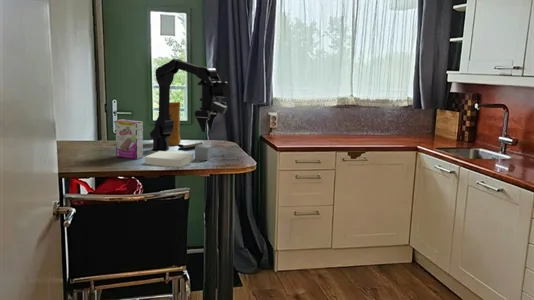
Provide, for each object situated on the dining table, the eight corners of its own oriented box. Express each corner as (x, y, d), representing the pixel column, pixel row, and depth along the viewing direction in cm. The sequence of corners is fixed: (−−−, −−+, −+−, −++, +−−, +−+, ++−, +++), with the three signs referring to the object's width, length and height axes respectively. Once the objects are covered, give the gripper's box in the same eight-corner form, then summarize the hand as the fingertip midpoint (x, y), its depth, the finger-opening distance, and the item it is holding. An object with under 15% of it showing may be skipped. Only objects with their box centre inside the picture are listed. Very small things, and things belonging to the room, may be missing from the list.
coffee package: (158, 141, 247) (158, 100, 243) (181, 142, 247) (182, 101, 243) (154, 145, 237) (154, 101, 233) (179, 146, 238) (179, 102, 234)
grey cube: (194, 159, 208) (195, 146, 207) (199, 157, 214) (199, 144, 213) (207, 161, 207) (207, 147, 206) (212, 158, 213) (212, 145, 212)
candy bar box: (115, 157, 207) (114, 120, 204) (122, 155, 211) (121, 119, 208) (137, 159, 203) (136, 122, 200) (143, 157, 208) (143, 121, 205)
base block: (145, 163, 196) (145, 156, 196) (159, 157, 210) (159, 150, 209) (180, 167, 193) (180, 160, 192) (193, 160, 206) (193, 153, 206)
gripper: (219, 98, 197) (218, 135, 200) (230, 95, 215) (229, 129, 218) (194, 97, 199) (193, 133, 202) (207, 94, 217) (207, 127, 220)
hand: (207, 130), depth 210 cm, fingers open, 9 cm apart
